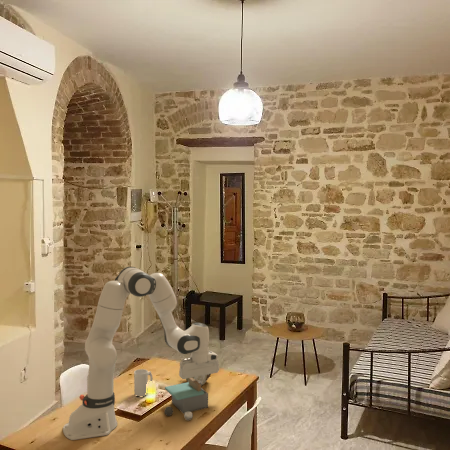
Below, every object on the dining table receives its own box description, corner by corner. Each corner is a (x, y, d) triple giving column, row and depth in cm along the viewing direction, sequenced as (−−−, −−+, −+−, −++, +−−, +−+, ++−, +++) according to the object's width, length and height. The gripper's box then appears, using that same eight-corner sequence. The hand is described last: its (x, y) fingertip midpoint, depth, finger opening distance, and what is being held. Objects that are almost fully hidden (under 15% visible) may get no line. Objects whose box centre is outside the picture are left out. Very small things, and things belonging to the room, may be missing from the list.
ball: (166, 418, 217) (166, 409, 217) (163, 414, 221) (163, 406, 221) (174, 416, 219) (174, 407, 219) (171, 412, 223) (171, 404, 223)
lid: (177, 400, 219) (177, 391, 219) (164, 388, 232) (165, 380, 231) (204, 394, 226) (204, 385, 226) (191, 383, 239) (191, 375, 238)
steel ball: (186, 422, 214) (186, 414, 213) (182, 419, 217) (182, 410, 217) (194, 420, 216) (194, 412, 215) (190, 417, 219) (190, 408, 219)
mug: (138, 399, 237) (138, 375, 236) (131, 394, 242) (131, 371, 241) (155, 393, 243) (156, 370, 242) (148, 389, 248) (149, 366, 247)
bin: (183, 413, 222) (183, 398, 222) (171, 402, 233) (171, 388, 233) (208, 407, 229) (208, 393, 228) (195, 397, 240) (195, 383, 239)
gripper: (182, 361, 224) (182, 390, 225) (221, 355, 234) (220, 382, 235) (177, 357, 229) (176, 385, 230) (214, 351, 240) (214, 378, 241)
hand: (199, 384), depth 233 cm, fingers closed
